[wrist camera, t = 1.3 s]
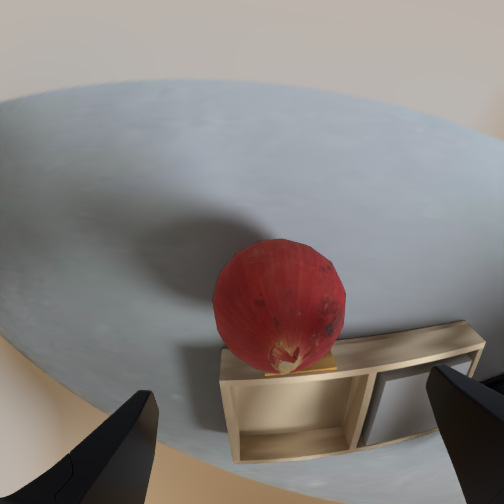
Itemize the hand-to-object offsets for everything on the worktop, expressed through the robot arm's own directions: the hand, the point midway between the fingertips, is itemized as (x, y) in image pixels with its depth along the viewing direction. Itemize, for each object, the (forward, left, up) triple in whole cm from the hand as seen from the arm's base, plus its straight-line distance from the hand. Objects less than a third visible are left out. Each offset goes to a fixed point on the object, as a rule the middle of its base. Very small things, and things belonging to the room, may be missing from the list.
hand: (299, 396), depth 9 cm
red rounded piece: (0, 0, -10) cm, 10 cm away
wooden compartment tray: (-5, +9, -9) cm, 14 cm away
